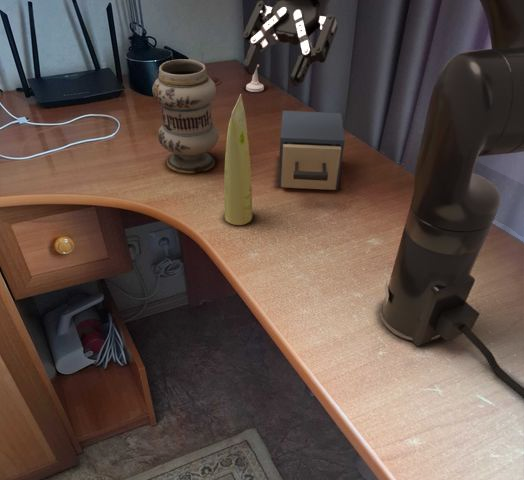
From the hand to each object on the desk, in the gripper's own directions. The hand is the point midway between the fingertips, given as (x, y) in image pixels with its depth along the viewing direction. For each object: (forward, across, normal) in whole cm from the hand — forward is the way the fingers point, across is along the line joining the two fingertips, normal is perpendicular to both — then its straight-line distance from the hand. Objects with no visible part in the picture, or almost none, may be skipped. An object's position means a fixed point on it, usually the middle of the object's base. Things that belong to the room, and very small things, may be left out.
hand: (270, 77), depth 74 cm
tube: (+21, 0, +8) cm, 23 cm away
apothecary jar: (+13, -21, +16) cm, 29 cm away
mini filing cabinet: (+6, +2, +24) cm, 24 cm away
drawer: (+8, +4, +20) cm, 22 cm away
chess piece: (-18, -34, +48) cm, 62 cm away
